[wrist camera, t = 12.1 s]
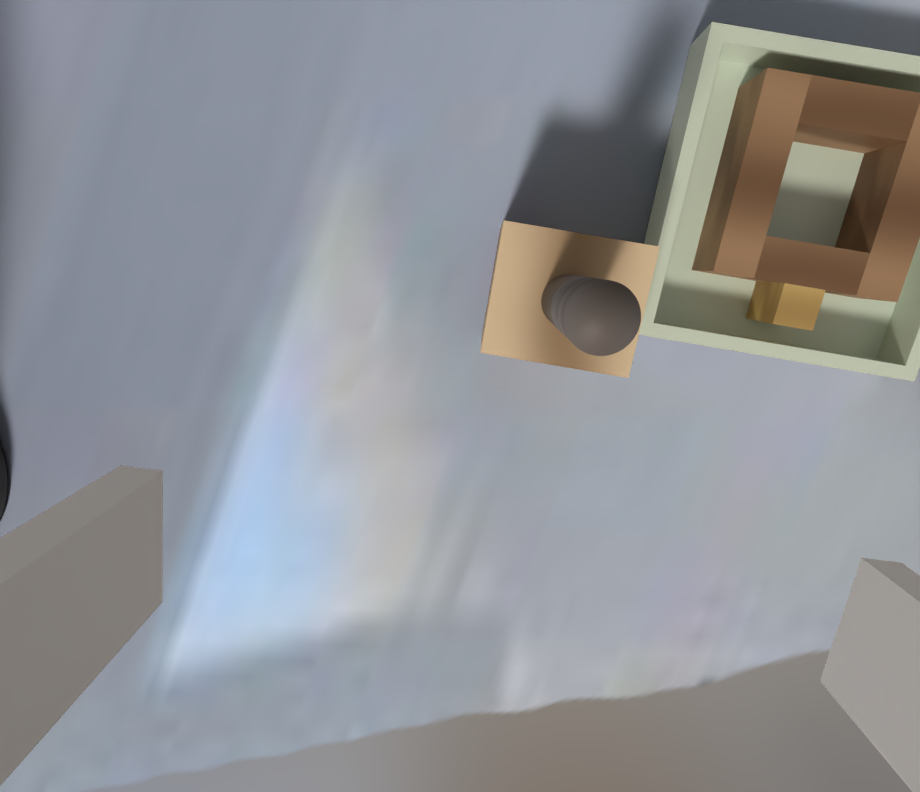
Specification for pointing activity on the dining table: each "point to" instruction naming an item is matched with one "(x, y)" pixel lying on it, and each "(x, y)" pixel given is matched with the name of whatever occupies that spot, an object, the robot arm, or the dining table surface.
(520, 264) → the block with upright handle
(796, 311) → the ring
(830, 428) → the dining table surface
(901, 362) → the tray
